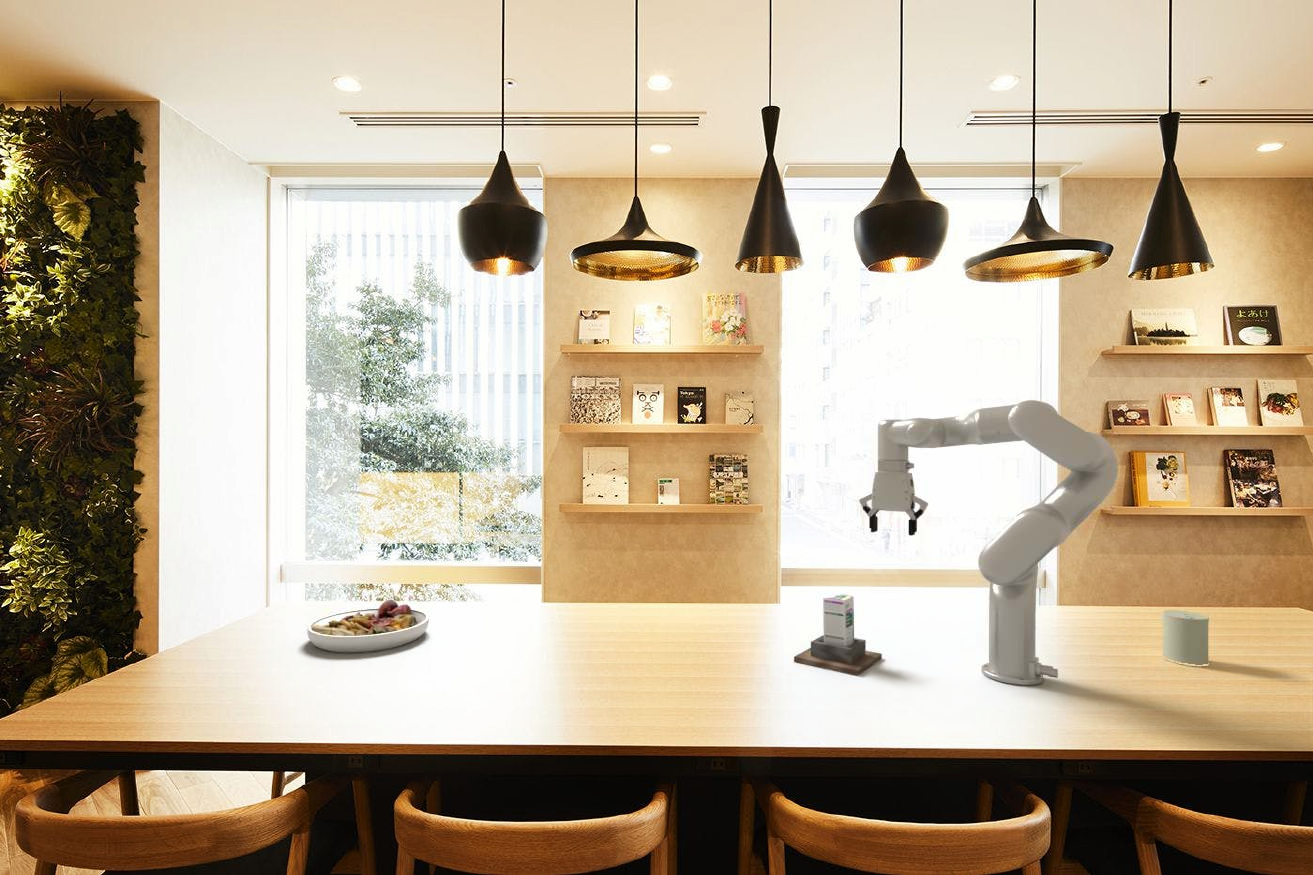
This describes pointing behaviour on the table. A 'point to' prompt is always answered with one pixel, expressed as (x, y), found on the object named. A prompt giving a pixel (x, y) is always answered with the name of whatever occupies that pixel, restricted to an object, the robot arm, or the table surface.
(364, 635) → the bowl
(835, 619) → the syrup box
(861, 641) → the holder
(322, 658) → the table surface
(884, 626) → the table surface
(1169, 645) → the can
